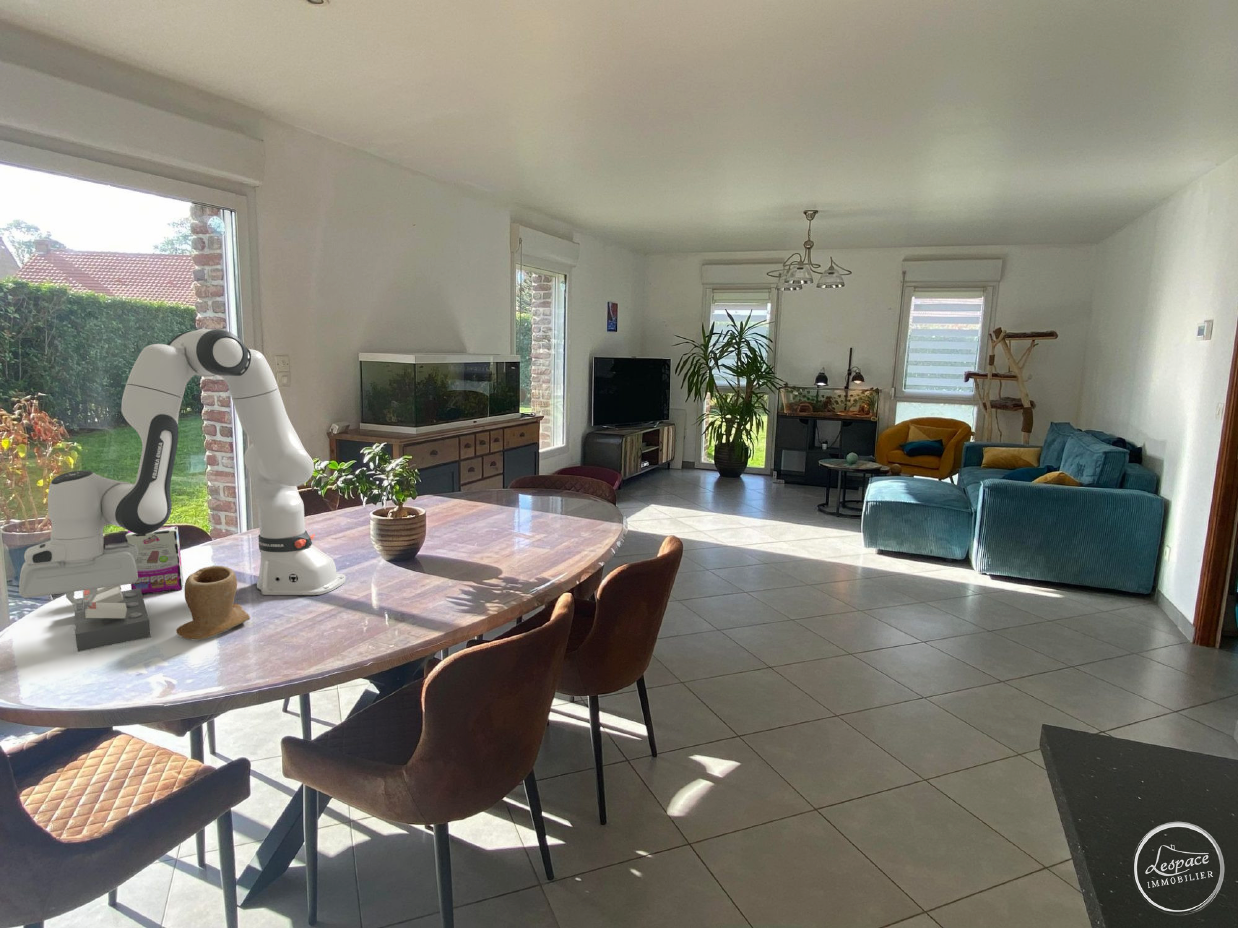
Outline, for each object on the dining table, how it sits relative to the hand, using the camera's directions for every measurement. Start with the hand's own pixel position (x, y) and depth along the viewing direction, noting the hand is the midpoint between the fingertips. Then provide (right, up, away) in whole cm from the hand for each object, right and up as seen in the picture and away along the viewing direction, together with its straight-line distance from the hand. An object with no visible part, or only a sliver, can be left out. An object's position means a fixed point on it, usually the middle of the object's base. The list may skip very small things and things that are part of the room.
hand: (83, 609), depth 150 cm
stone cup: (+24, -7, +9) cm, 27 cm away
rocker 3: (+3, -1, +3) cm, 4 cm away
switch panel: (-1, -6, +10) cm, 12 cm away
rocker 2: (-2, 0, +8) cm, 9 cm away
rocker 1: (-6, +1, +14) cm, 16 cm away
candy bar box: (-5, -2, +32) cm, 33 cm away
